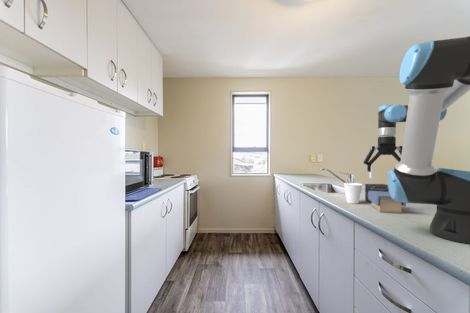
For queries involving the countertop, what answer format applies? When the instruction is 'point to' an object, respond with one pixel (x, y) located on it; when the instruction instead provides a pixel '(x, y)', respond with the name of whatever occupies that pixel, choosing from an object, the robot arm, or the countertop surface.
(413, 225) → the countertop surface
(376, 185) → the small box
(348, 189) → the cup
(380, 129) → the robot arm
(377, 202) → the lid
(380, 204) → the tray
